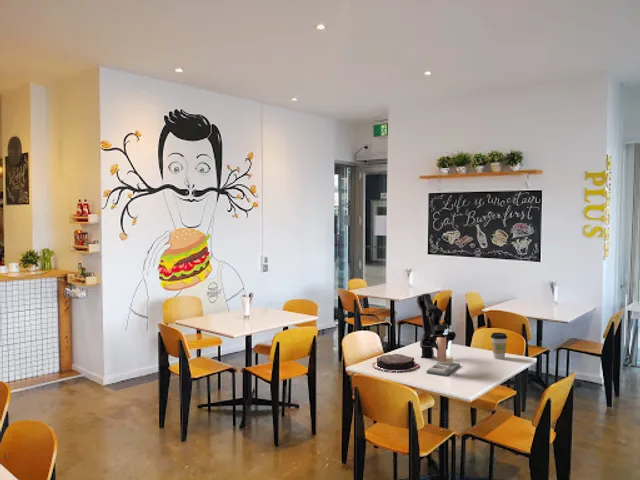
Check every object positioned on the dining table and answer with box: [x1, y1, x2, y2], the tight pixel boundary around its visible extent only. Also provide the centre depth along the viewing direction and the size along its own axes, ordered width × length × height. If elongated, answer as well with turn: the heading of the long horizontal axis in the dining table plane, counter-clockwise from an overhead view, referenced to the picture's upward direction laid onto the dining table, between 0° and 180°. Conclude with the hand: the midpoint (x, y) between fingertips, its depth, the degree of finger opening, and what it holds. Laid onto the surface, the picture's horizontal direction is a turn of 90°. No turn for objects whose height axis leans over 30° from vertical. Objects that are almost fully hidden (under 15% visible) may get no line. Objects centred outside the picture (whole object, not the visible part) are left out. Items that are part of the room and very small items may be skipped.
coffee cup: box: [490, 332, 508, 360], centre depth 326 cm, size 10×10×15 cm
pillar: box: [436, 337, 447, 362], centre depth 299 cm, size 5×5×13 cm
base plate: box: [426, 355, 461, 377], centre depth 305 cm, size 12×23×6 cm, turn 148°
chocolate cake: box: [371, 353, 420, 373], centre depth 315 cm, size 28×28×7 cm
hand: (442, 349), depth 298 cm, fingers closed on pillar, 5 cm apart
